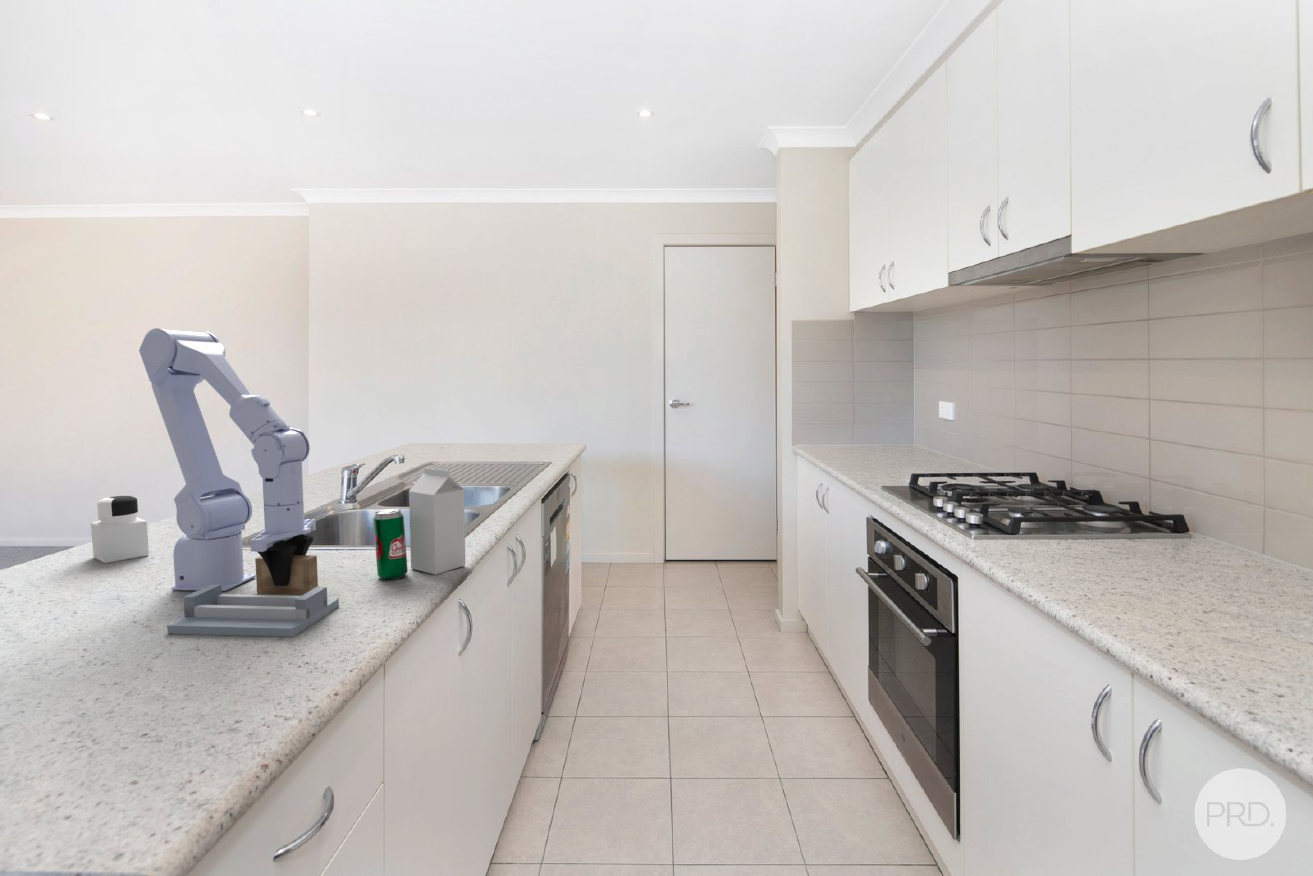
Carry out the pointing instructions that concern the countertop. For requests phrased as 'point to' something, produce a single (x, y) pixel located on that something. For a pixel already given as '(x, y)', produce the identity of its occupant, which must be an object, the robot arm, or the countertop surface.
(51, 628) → the countertop surface
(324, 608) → the floor track
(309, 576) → the door slab
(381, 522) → the soda can
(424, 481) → the milk carton
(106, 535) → the medicine bottle
